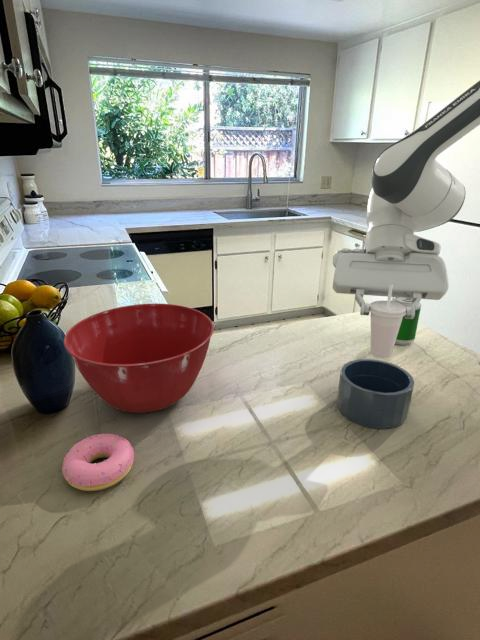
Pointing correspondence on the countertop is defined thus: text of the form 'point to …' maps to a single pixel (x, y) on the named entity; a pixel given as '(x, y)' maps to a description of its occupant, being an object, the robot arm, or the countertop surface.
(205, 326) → the mixing bowl
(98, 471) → the doughnut
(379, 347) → the smoothie
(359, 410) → the pot
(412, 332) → the soda can
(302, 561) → the countertop surface
